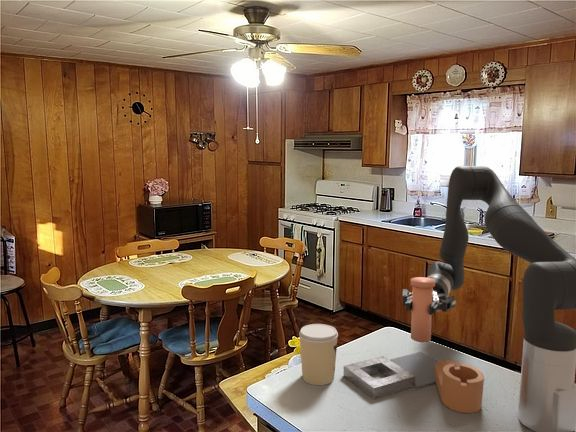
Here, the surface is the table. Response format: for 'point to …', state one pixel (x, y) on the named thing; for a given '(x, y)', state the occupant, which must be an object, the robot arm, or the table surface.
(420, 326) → the orange flanged cylinder
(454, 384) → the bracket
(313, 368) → the coffee cup
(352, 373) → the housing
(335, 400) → the table surface
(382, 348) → the table surface
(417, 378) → the mat
